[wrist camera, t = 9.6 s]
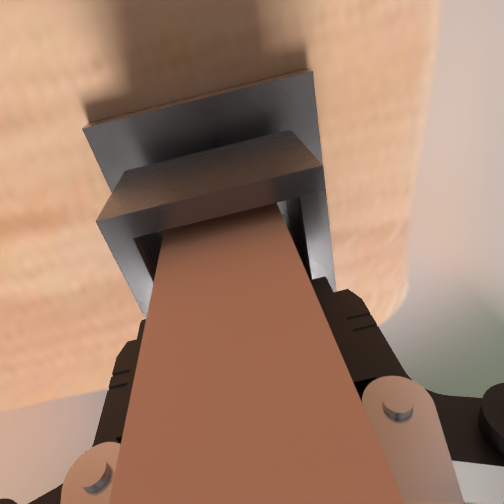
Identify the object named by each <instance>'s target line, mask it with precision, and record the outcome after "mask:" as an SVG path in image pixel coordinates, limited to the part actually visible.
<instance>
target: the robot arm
mask: <svg viewBox="0 0 504 504" xmlns="http://www.w3.org/2000/svg"><path fill="white" fill-rule="evenodd" d="M310 282H311V284H312V287H313V289H314V291H315V294H316V296H317V298H318V301H319V303H320V306H321V308H322V310H323V313H324V315H325V317H326V320H327V322H328V324H329V327H330V329H331V331H332V334H333V336H334V338H335V341H336V343H337V345H338V348H339V350H340V352H341V355H342V357H343V359H344V362H345V364H346V367H347V369H348V371H349V374H350V376H351V378H352V381H353V383H354V385H355V388H356V390H357V392H358V395H359V397H360V399H361V402H362V404H363V406H364V409H365V411H366V413H367V416H368V418H369V420H370V423H371V425H372V428H373V430H374V432H375V435H376V437H377V439H378V442H379V444H380V446H381V449H382V451H383V453H384V456H385V458H386V460H387V463H388V465H389V467H390V470H391V472H392V474H393V477H394V479H395V481H396V484H397V486H398V489H399V491H400V493H401V496H402V498H403V500H404V503H405V504H465V503H464V502H468V503H475V504H504V383H501V384H497V385H494V386H492V387H491V388H489V389H488V390H487V391H486V392H485V394H484V396H483V398H473V397H457V396H447V395H441V394H437V393H434V392H431V391H429V390H427V389H424V388H423V387H422V386H421V385H419V384H418V383H416V382H414V381H413V380H412V379H411V378H410V377H409V376H408V375H407V374H406V373H405V371H404V369H403V368H402V366H401V364H400V363H399V361H398V359H397V358H396V356H395V354H394V353H393V351H392V349H391V348H390V346H389V344H388V342H387V341H386V339H385V337H384V336H383V334H382V332H381V331H380V329H379V327H377V324H376V322H375V320H374V319H373V317H372V315H370V312H369V310H368V308H367V307H366V305H365V303H364V302H363V300H362V299H361V298H360V297H358V296H357V295H356V294H354V293H353V292H351V291H350V290H348V289H346V290H342V291H338V292H333V290H332V288H331V286H330V284H329V282H328V280H327V278H326V277H325V276H324V277H320V278H316V279H311V280H310ZM145 323H146V319H144V320H142V321H141V323H140V327H139V332H138V337H137V340H132V341H128V342H127V343H126V345H125V346H124V347H123V349H122V350H121V352H120V353H119V355H118V356H117V358H116V362H115V366H114V369H113V373H112V374H113V377H111V380H110V384H109V391H108V392H107V396H106V399H105V403H104V406H103V410H102V414H101V417H100V421H99V425H98V429H97V432H96V436H95V440H94V444H93V446H92V448H91V449H89V450H88V451H86V452H85V453H84V454H83V455H81V457H79V459H77V461H76V462H75V463H74V464H73V466H72V467H71V468H70V470H69V472H68V473H67V475H66V478H65V480H64V483H63V484H61V485H60V486H58V487H57V488H56V489H53V490H51V491H50V492H48V493H46V494H45V495H43V496H41V497H39V498H38V499H36V500H34V501H32V502H30V503H29V504H109V500H110V495H111V490H112V485H113V480H114V475H115V470H116V465H117V460H118V455H119V450H120V445H121V441H122V436H123V431H124V426H125V421H126V416H127V411H128V406H129V401H130V396H131V391H132V386H133V382H134V377H135V372H136V367H137V362H138V357H139V352H140V347H141V342H142V337H143V332H144V328H145ZM0 504H17V503H16V502H14V501H13V500H10V499H0Z"/></svg>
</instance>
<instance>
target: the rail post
mask: <svg viewBox="0 0 504 504" xmlns="http://www.w3.org/2000/svg"><path fill="white" fill-rule="evenodd" d="M109 504H405V503H404V500H403V498H402V496H401V493H400V491H399V489H398V486H397V484H396V481H395V479H394V477H393V474H392V472H391V470H390V467H389V465H388V463H387V460H386V458H385V456H384V453H383V451H382V449H381V446H380V444H379V442H378V439H377V437H376V435H375V432H374V430H373V428H372V425H371V423H370V420H369V418H368V416H367V413H366V411H365V409H364V406H363V404H362V402H361V399H360V397H359V395H358V392H357V390H356V388H355V385H354V383H353V381H352V378H351V376H350V374H349V371H348V369H347V367H346V364H345V362H344V359H343V357H342V355H341V352H340V350H339V348H338V345H337V343H336V341H335V338H334V336H333V334H332V331H331V329H330V327H329V324H328V322H327V320H326V317H325V315H324V313H323V310H322V308H321V306H320V303H319V301H318V298H317V296H316V294H315V291H314V289H313V287H312V284H311V282H310V280H309V277H308V275H307V273H306V270H305V268H304V266H303V263H302V261H301V259H300V256H299V254H298V252H297V249H296V247H295V245H294V242H293V240H292V237H291V235H290V233H289V230H288V228H287V226H286V223H285V221H284V219H283V216H282V214H281V212H280V209H279V207H278V205H277V203H273V204H269V205H265V206H261V207H257V208H253V209H249V210H245V211H241V212H237V213H233V214H229V215H224V216H220V217H216V218H212V219H208V220H204V221H200V222H196V223H192V224H188V225H184V226H180V227H176V228H171V229H167V230H164V234H163V239H162V244H161V249H160V254H159V259H158V264H157V269H156V273H155V278H154V283H153V288H152V293H151V298H150V303H149V308H148V313H147V318H146V323H145V328H144V332H143V337H142V342H141V347H140V352H139V357H138V362H137V367H136V372H135V377H134V382H133V386H132V391H131V396H130V401H129V406H128V411H127V416H126V421H125V426H124V431H123V436H122V441H121V445H120V450H119V455H118V460H117V465H116V470H115V475H114V480H113V485H112V490H111V495H110V500H109Z"/></svg>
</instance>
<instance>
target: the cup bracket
mask: <svg viewBox="0 0 504 504" xmlns="http://www.w3.org/2000/svg"><path fill="white" fill-rule="evenodd" d="M82 129H83V132H84V134H85V136H86V138H87V140H88V142H89V145H90V147H91V149H92V151H93V153H94V155H95V158H96V160H97V162H98V164H99V166H100V168H101V171H102V173H103V175H104V177H105V179H106V181H107V184H108V186H109V188H110V190H111V192H112V194H111V196H110V197H109V199H108V201H107V203H106V204H105V206H104V208H103V210H102V211H101V213H100V215H99V217H98V218H97V220H96V223H97V225H98V227H99V229H100V231H101V233H102V235H103V237H104V239H105V241H106V242H107V244H108V246H109V248H110V250H111V252H112V254H113V256H114V258H115V260H116V262H117V264H118V266H119V268H120V270H121V272H122V274H123V276H124V278H125V280H126V282H127V284H128V285H129V287H130V289H131V291H132V293H133V295H134V297H135V299H136V301H137V303H138V305H139V307H140V309H141V311H142V313H143V315H144V317H145V319H146V318H147V313H148V308H149V303H150V298H151V293H152V288H153V283H154V278H155V273H156V269H157V264H158V259H159V254H160V249H161V244H162V239H163V234H164V230H167V229H171V228H176V227H180V226H184V225H188V224H192V223H196V222H200V221H204V220H208V219H212V218H216V217H220V216H224V215H229V214H233V213H237V212H241V211H245V210H249V209H253V208H257V207H261V206H265V205H269V204H273V203H277V205H278V207H279V209H280V212H281V214H282V216H283V219H284V221H285V223H286V226H287V228H288V230H289V233H290V235H291V237H292V240H293V242H294V245H295V247H296V249H297V252H298V254H299V256H300V259H301V261H302V263H303V266H304V268H305V270H306V273H307V275H308V277H309V280H311V279H316V278H320V277H324V276H325V277H326V278H327V280H328V282H329V284H330V286H331V288H332V290H333V292H336V283H335V274H334V264H333V255H332V246H331V236H330V227H329V217H328V208H327V199H326V189H325V180H324V171H323V164H322V155H321V145H320V136H319V127H318V117H317V108H316V99H315V89H314V80H313V71H311V70H309V69H304V70H300V71H296V72H292V73H288V74H284V75H280V76H276V77H272V78H268V79H264V80H260V81H256V82H252V83H248V84H244V85H240V86H236V87H232V88H228V89H224V90H220V91H216V92H212V93H208V94H204V95H200V96H196V97H192V98H188V99H184V100H180V101H176V102H173V103H169V104H165V105H161V106H157V107H153V108H149V109H145V110H141V111H137V112H133V113H129V114H125V115H121V116H117V117H113V118H109V119H105V120H101V121H97V122H93V123H89V124H87V125H86V126H85V127H84V128H82Z"/></svg>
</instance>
